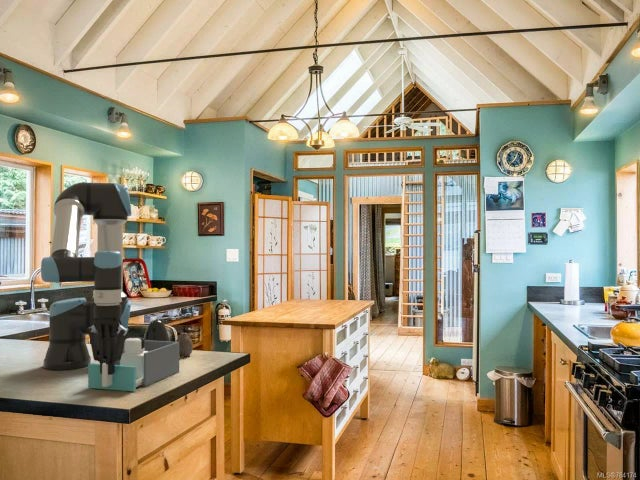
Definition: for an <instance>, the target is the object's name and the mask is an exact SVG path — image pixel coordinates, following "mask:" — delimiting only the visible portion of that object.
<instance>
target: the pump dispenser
mask: <svg viewBox="0 0 640 480" xmlns="http://www.w3.org/2000/svg"><path fill="white" fill-rule="evenodd" d="M166 323H168V320H166V319H164V320H160V319H154V320H151V321H150V322H149V324H148V325H147V327H146V330H145V333H144V334H143V335H144V336H143V338H144V340H150V341H168V342H171V339H170V335H169V332H168V329H167V327H166Z"/></svg>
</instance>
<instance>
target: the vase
mask: <svg viewBox="0 0 640 480" xmlns="http://www.w3.org/2000/svg"><path fill="white" fill-rule="evenodd" d="M175 342H179V358H187V357H189V356H190V355H192V353H193V351H194V343H193V340H192V338H191V337H190V336H189V335H188V333H187V332H180V334H179V336H178V338H176V340H175Z"/></svg>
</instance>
